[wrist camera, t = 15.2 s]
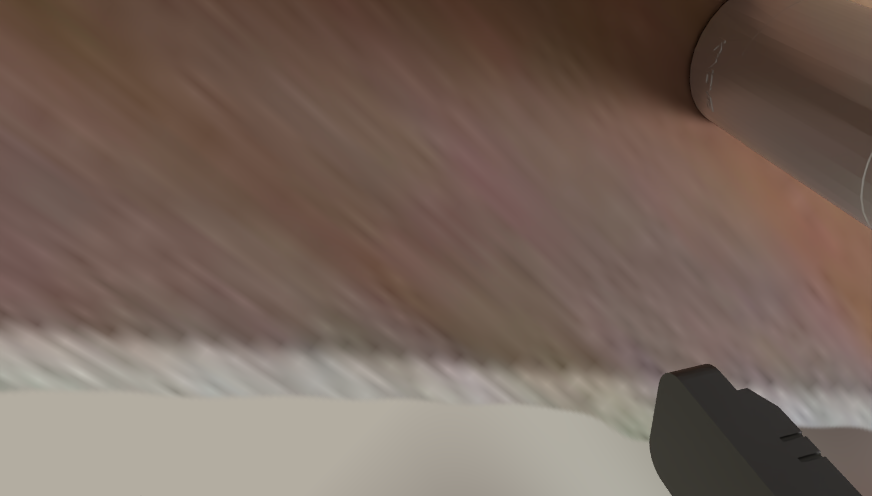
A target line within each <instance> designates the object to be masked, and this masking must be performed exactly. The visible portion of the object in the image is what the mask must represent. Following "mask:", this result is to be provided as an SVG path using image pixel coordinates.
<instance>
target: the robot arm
mask: <svg viewBox="0 0 872 496" xmlns="http://www.w3.org/2000/svg"><path fill="white" fill-rule="evenodd" d="M690 87H691V93H692V97H693V99H694V102H695V104H696V106H697V108H698V109H699V111H700V112H701V113H702V114H703V116H704V117H706V118H707V119H708V120H710V121H711V122H713V123H714V124H716V125H717V126H719V127H720V128H722V129H723V130H725V131H726V132H728V133H729V134H730V135H732V136H733V137H735V138H736V139H738V140H739V141H741V142H742V143H744V144H745V145H746V146H748V147H749V148H750V149H752V150H753V151H755V152H756V153H758V154H759V155H761V156H762V157H764V158H765V159H767V160H768V161H770V162H771V163H773V164H774V165H776V166H777V167H779V168H780V169H782V170H783V171H785V172H786V173H788V174H789V175H791V176H792V177H794V178H795V179H797V180H798V181H800V182H801V183H803V184H804V185H806V186H807V187H809V188H810V189H812V190H813V191H815V192H816V193H818V194H819V195H821V196H822V197H824V198H825V199H827V200H828V201H830V202H831V203H833V204H834V205H836V206H837V207H839V208H840V209H842V210H843V211H845V212H846V213H848V214H849V215H850V216H852V217H853V218H855V219H856V220H858V221H859V222H861V223H862V224H864V225H865V226H867V227H868V228H870V229H871V230H872V9H871V8H868V7H866V6H863V5H860V4H857V3H855V2H852V1H849V0H728V1H727V2H726V3H725V4H724V5H723V6H722V7H721V8H720V9H719V10H718V11H717V13H716V14H715V15H714V16H713V17H712V18H711V20H710V21H709V23H708V25H707V26H706V28H705V29H704V31H703V32H702V34H701V36H700V39H699V41H698V43H697V46H696V48H695V50H694V55H693V59H692V63H691V68H690ZM649 443H650V453H651V458H652V461H653V464H654V467H655V469H656V471H657V473H658V475H659V477H660V479H661V480H662V482H663V483H664V485H665V486H666V488H667V489H668V490H669V492H670V493H671V495H672V496H862V495H861V494H860V493H859V492H858V491H857V490H856V489H855V488H854V487H853V486H852V485H851V484H850V482H849V481H848V480H847V479H846V478H845V477H844V476H843V475H842V474H841V473H840V472H839V471H838V470H837V469H836V467H835V466H834V465H833V464H832V463H831V462H830V461H829V460H828V459H827V458H826V457H822V456H821V453H820V451H819V450H818V448H817V447H816V446H815V445H814V444H813V443H812V442H811V441H810V440H809V439H808V438H807V437H806V436H805V437H803V436H802V431H800V429H799V428H798V427H797V426H796V425H795V424H794V423H793V422H792V421H791V420H790V419H789V417H788V416H787V415H786V414H785V413H784V412H783V411H782V410H781V409H780V408H779V407H778V406H776V405H775V404H773V403H771V402H770V401H768V400H766V399H765V398H763V397H761V396H760V395H758V394H756V393H755V392H753V391H751V390H750V389H748V388H745V389H741V390H736V389H735V388H734V387H733V386H732V384H731V383H730V382H729V381H728V380H727V379H726V378H725V377H724V376H723V374H722V373H721V372H720V371H719V370H718V369H717V368H716V367H714V366H712V365H710V364H703V365H699V366H695V367H691V368H686V369H682V370H678V371H674V372H670V373H665V374H664V375H663V376H662V377H661V379H660V382H659V387H658V393H657V398H656V404H655V410H654V416H653V422H652V428H651V434H650V441H649Z"/></svg>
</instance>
